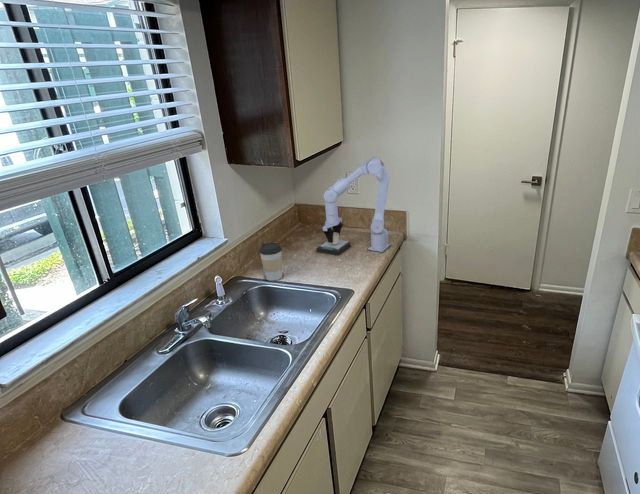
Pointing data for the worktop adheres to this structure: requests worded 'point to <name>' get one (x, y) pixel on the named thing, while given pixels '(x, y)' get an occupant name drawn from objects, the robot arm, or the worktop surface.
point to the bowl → (335, 238)
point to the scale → (334, 247)
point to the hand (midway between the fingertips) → (333, 240)
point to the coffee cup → (271, 260)
